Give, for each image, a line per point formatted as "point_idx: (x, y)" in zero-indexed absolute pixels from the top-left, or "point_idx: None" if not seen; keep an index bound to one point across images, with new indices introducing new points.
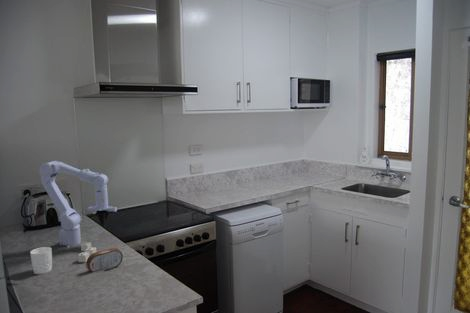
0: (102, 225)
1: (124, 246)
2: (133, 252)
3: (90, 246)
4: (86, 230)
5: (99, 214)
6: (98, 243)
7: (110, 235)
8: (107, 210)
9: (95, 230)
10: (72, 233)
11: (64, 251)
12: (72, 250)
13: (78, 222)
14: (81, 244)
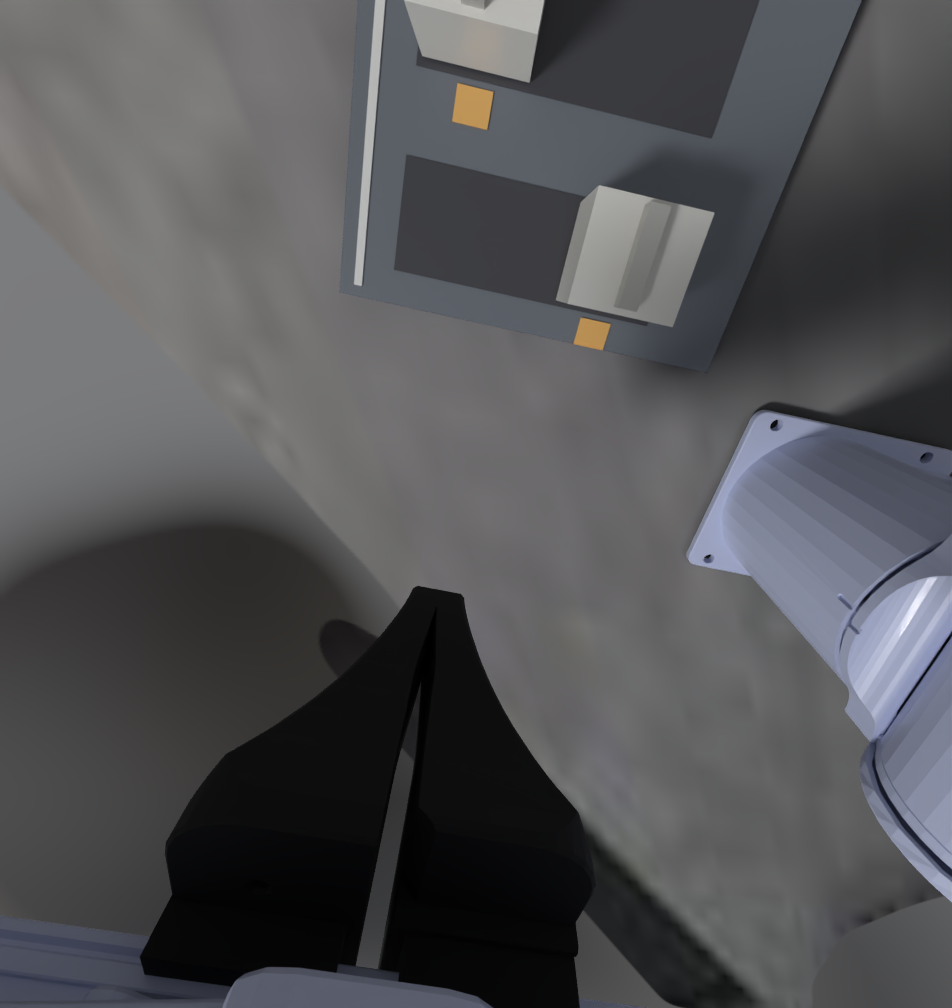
0: (439, 592)
1: (230, 409)
2: (19, 194)
3: (567, 274)
4: (718, 801)
5: (430, 786)
6: (540, 523)
7: None
8: (122, 974)
9: (643, 792)
10: (919, 510)
11: (882, 329)
12: (788, 352)
13: (918, 727)
14: (702, 219)
